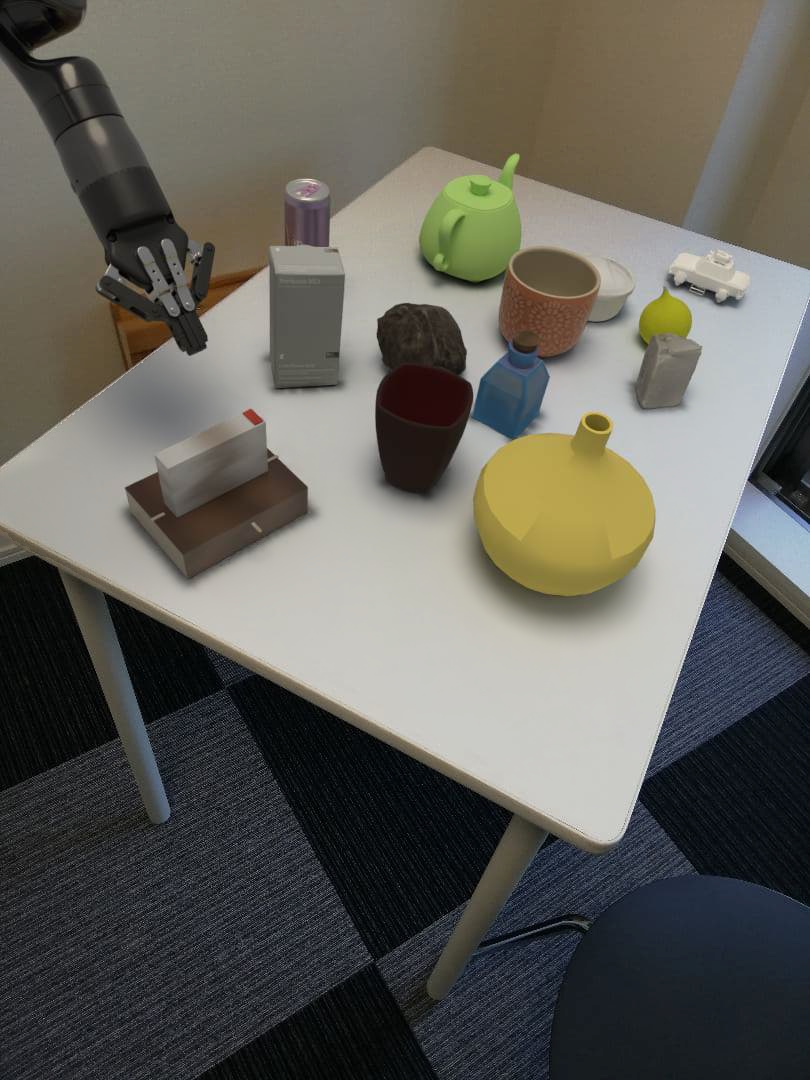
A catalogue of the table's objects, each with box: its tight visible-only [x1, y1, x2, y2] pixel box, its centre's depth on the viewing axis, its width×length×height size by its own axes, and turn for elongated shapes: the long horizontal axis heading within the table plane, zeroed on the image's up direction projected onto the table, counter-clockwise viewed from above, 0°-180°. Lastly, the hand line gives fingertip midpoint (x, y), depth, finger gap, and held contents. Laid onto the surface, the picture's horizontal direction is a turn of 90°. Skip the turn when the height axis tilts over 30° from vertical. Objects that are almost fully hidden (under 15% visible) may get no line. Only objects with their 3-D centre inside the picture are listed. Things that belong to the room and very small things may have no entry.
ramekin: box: [577, 252, 636, 323], centre depth 113 cm, size 11×11×5 cm
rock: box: [376, 302, 468, 376], centre depth 98 cm, size 10×11×10 cm
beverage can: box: [283, 178, 332, 247], centre depth 104 cm, size 6×6×15 cm
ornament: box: [638, 283, 693, 345], centre depth 107 cm, size 7×7×10 cm
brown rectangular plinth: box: [124, 447, 309, 580], centre depth 81 cm, size 15×15×4 cm
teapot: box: [418, 153, 522, 283], centre depth 115 cm, size 22×15×13 cm
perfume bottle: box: [471, 329, 551, 441], centre depth 93 cm, size 6×6×12 cm
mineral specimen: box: [634, 333, 703, 410], centre depth 101 cm, size 7×9×8 cm
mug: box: [374, 363, 474, 494], centre depth 86 cm, size 10×14×12 cm
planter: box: [498, 245, 601, 358], centre depth 104 cm, size 12×12×11 cm
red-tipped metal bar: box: [154, 408, 268, 518], centre depth 77 cm, size 11×2×7 cm, turn 132°
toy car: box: [667, 249, 751, 304], centre depth 119 cm, size 6×12×7 cm, turn 60°
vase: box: [472, 411, 656, 597], centre depth 76 cm, size 18×18×19 cm
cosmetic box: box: [268, 245, 346, 389], centre depth 93 cm, size 8×7×16 cm
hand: (198, 351), depth 78 cm, fingers closed
